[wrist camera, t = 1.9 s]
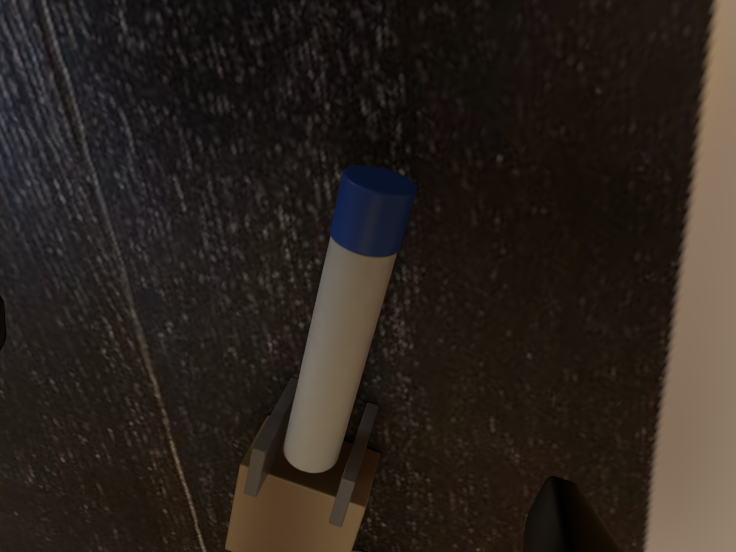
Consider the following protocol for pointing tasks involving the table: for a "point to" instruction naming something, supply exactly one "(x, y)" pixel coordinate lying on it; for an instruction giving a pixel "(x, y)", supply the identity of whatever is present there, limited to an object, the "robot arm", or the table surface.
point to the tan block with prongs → (300, 491)
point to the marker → (346, 310)
